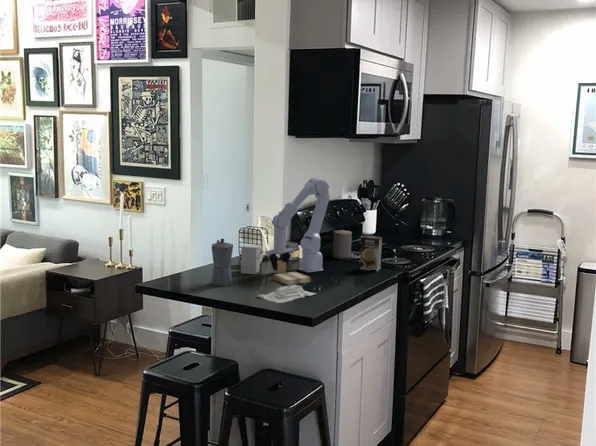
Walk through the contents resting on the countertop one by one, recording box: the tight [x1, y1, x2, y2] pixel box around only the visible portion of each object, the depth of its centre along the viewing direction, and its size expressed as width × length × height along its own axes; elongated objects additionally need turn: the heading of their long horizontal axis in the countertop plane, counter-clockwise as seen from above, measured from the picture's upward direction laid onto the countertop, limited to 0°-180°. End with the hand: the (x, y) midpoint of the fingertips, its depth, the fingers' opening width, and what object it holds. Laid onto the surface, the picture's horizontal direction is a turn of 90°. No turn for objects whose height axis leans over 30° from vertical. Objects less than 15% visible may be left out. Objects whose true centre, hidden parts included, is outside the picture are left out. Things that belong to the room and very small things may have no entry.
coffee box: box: [359, 235, 383, 272], centre depth 303 cm, size 9×6×16 cm
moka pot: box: [210, 238, 234, 287], centre depth 267 cm, size 10×15×20 cm, turn 27°
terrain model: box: [256, 284, 318, 304], centre depth 251 cm, size 17×23×5 cm
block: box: [272, 260, 287, 274], centre depth 290 cm, size 4×4×5 cm
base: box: [272, 271, 311, 286], centre depth 277 cm, size 12×12×2 cm
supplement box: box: [240, 244, 261, 275], centre depth 290 cm, size 7×7×13 cm
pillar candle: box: [332, 228, 353, 260], centre depth 331 cm, size 10×10×15 cm
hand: (279, 269), depth 290 cm, fingers closed on block, 4 cm apart
